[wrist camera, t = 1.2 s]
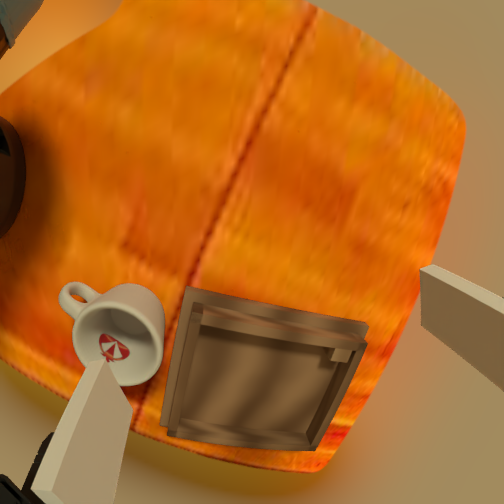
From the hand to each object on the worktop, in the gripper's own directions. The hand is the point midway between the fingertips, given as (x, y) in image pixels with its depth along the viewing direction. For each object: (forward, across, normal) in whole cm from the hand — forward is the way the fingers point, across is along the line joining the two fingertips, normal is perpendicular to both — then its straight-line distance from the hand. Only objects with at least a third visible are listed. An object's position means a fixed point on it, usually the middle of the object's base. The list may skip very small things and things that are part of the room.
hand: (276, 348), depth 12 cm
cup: (+20, -12, -3) cm, 24 cm away
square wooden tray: (+20, -1, -16) cm, 25 cm away
